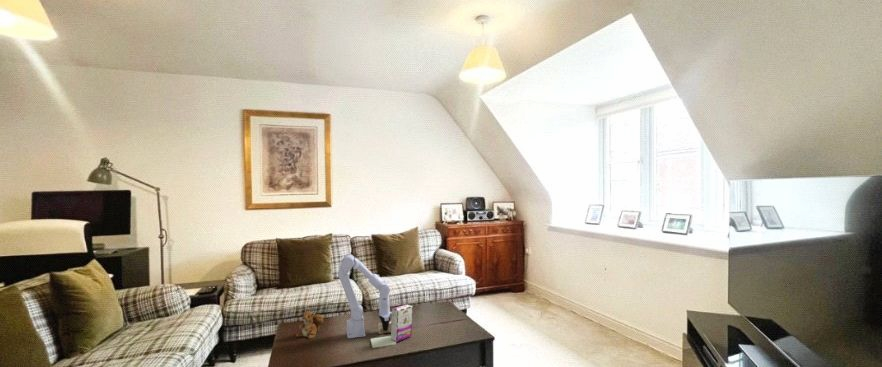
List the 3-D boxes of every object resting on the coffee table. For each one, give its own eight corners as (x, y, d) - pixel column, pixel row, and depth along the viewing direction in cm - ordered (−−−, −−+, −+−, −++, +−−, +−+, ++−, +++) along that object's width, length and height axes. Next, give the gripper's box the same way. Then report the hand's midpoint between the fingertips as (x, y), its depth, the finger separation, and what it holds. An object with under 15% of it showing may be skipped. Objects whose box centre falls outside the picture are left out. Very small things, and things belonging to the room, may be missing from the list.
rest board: (372, 347, 191) (372, 346, 191) (370, 340, 201) (370, 338, 201) (396, 344, 195) (396, 342, 195) (393, 337, 204) (392, 335, 204)
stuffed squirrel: (294, 337, 207) (293, 313, 207) (313, 328, 220) (313, 305, 220) (307, 340, 203) (307, 315, 203) (326, 331, 215) (326, 307, 215)
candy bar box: (405, 334, 208) (406, 304, 208) (411, 336, 204) (413, 306, 205) (389, 339, 199) (391, 308, 199) (396, 342, 196) (398, 310, 196)
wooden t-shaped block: (379, 335, 207) (379, 326, 207) (378, 330, 214) (377, 321, 214) (394, 333, 210) (393, 324, 210) (392, 328, 216) (391, 320, 216)
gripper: (393, 308, 206) (394, 333, 206) (389, 300, 220) (390, 324, 220) (380, 309, 204) (381, 335, 204) (377, 302, 218) (377, 325, 218)
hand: (385, 329), depth 212 cm, fingers closed on wooden t-shaped block, 2 cm apart
